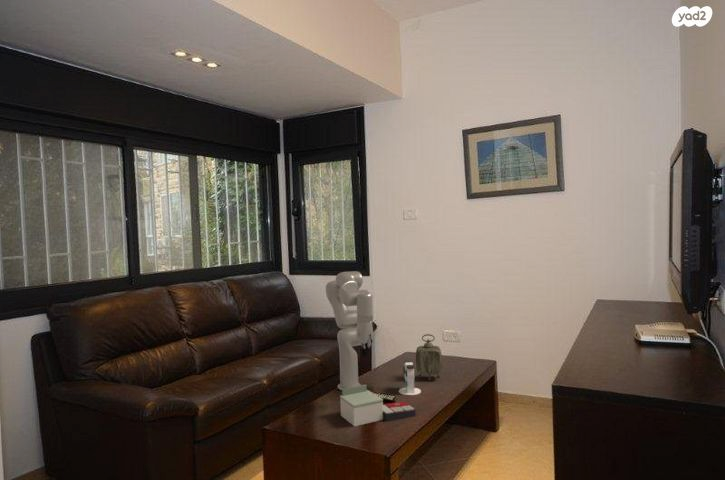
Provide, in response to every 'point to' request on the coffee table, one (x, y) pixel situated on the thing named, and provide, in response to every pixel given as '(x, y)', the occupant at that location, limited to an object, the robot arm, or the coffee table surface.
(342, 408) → the box
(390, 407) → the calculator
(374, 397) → the lid
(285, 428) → the coffee table surface
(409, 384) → the white pedestal stand
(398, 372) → the coffee table surface
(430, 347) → the tabletop clock
